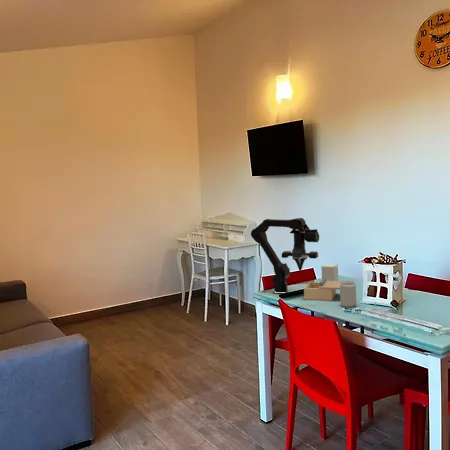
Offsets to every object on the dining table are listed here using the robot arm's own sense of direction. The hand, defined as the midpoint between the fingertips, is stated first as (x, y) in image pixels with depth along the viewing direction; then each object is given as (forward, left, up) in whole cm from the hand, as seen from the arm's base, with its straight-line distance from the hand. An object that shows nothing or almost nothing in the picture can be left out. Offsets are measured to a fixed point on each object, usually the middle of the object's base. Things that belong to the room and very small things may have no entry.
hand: (300, 270), depth 256 cm
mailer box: (+11, -4, -13) cm, 17 cm away
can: (+27, -18, -13) cm, 35 cm away
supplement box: (+13, +17, -13) cm, 25 cm away
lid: (+19, -4, -7) cm, 20 cm away
